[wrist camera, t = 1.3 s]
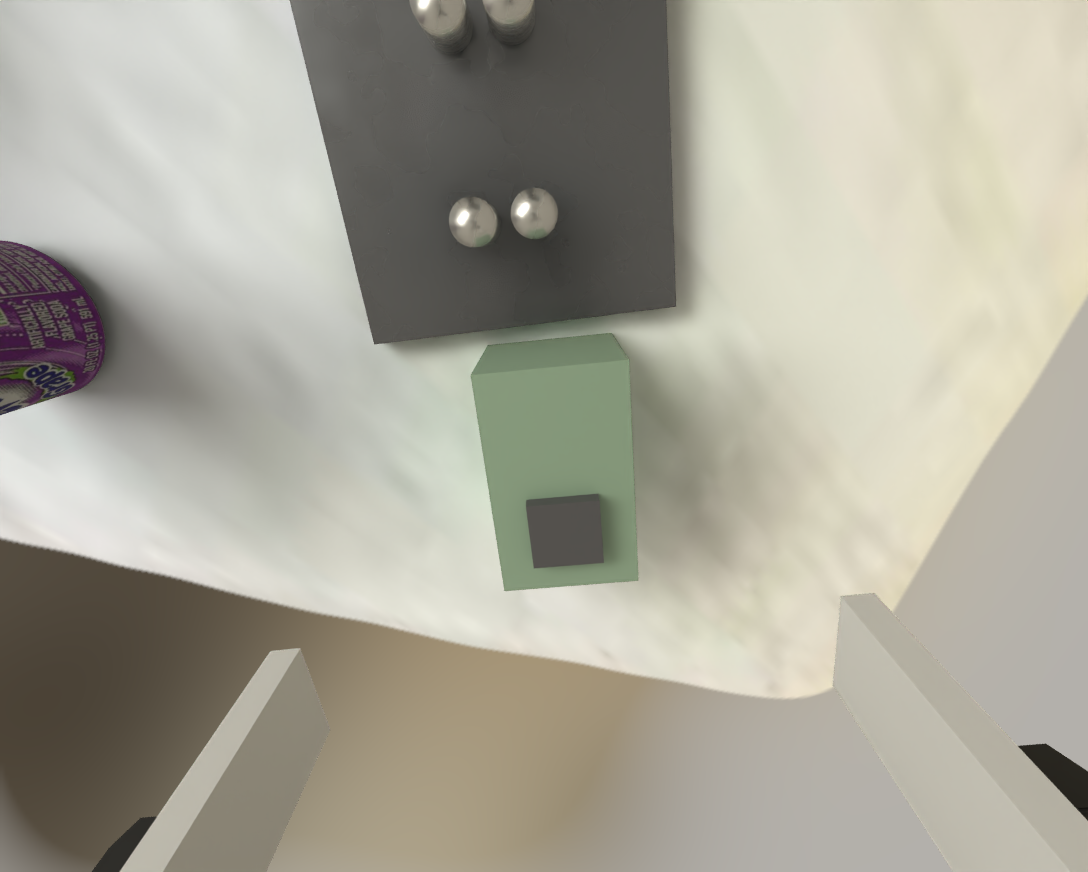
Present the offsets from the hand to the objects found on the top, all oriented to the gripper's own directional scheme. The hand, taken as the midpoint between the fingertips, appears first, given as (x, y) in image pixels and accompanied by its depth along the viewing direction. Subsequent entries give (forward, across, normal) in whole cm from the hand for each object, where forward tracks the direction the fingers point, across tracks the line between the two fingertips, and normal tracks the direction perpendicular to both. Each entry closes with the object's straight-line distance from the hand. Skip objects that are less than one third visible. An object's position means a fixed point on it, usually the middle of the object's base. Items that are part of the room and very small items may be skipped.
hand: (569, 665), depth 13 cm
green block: (+15, 0, 0) cm, 15 cm away
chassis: (+15, -1, +14) cm, 21 cm away
